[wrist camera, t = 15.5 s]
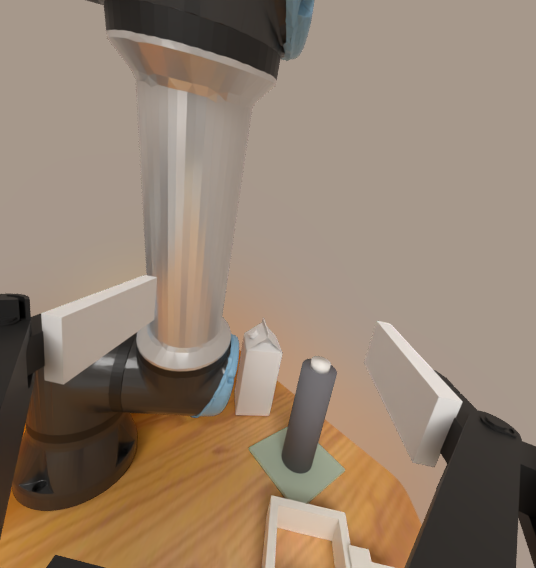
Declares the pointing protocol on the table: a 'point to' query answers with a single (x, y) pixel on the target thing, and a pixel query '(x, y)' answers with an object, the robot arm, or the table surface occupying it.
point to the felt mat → (291, 482)
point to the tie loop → (313, 532)
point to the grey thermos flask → (308, 413)
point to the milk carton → (257, 372)
